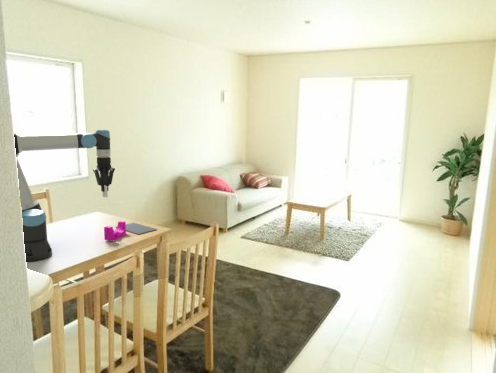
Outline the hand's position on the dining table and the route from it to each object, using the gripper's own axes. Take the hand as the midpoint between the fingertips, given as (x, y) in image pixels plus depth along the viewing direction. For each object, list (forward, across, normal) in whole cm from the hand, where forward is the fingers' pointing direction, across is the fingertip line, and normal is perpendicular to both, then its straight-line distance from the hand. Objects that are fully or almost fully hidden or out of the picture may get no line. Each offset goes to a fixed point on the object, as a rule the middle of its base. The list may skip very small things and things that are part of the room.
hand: (105, 196), depth 214 cm
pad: (+24, +21, 0) cm, 31 cm away
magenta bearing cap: (+24, +4, -6) cm, 25 cm away
